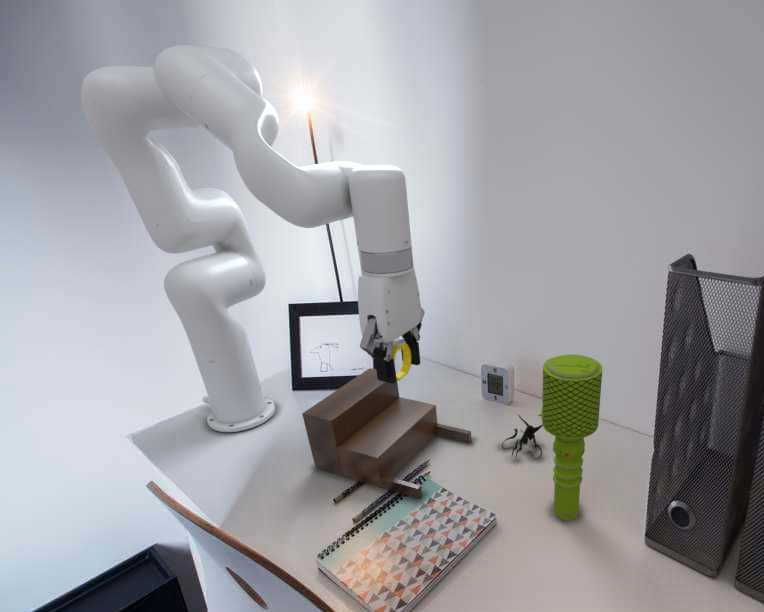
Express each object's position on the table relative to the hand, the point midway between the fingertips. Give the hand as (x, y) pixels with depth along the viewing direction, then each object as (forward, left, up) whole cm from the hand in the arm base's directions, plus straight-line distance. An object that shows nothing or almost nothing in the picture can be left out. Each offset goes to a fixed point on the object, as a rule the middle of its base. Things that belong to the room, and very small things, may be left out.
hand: (399, 371), depth 85 cm
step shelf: (-3, 0, -17) cm, 17 cm away
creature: (+17, +10, -17) cm, 26 cm away
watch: (0, 0, -1) cm, 1 cm away
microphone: (+29, -3, -17) cm, 34 cm away
